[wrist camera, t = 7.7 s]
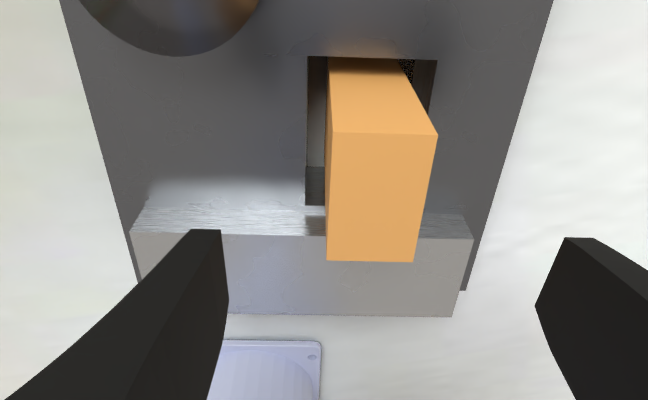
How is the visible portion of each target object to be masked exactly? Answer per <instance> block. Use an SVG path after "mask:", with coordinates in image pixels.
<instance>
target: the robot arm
mask: <svg viewBox="0 0 648 400" xmlns="http://www.w3.org/2000/svg"><path fill="white" fill-rule="evenodd" d="M228 305H229V293H228V285H227V276H226V268H225V260H224V251H223V243H222V235H221V229H190V230H189V231H188V232H187V233H186V234H185V235H184V236H183V237H182V238H181V239H180V240H179V241H178V242H177V243H176V245H175V246H174V247H173V248H172V249H171V250H170V251H169V252H168V253H167V254H166V255H165V256H164V257H163V258H162V259H161V260H160V262H159V263H158V264H157V265H156V266H155V267H154V268H153V269H152V270H151V271H150V272H149V273H148V274H147V275H146V276H145V277H144V278H143V279H142V280H141V281H140V282H139V283H138V284H137V285H136V286H135V287H134V288H133V289H132V290H131V291H130V292H129V293H128V294H127V295H126V296H125V297H124V298H123V299H122V300H121V301H120V302H119V303H118V304H117V305H116V306H115V307H114V308H113V309H112V310H111V311H109V312H108V313H107V314H106V315H105V316H104V317H103V318H102V319H101V320H100V321H98V322H97V323H96V324H95V325H94V326H93V327H92V328H91V329H90V330H89V331H88V332H86V333H85V334H84V335H83V336H82V337H81V338H80V339H79V340H78V341H76V342H75V343H74V344H73V345H72V346H71V347H70V348H68V349H67V350H66V351H65V352H64V353H62V354H61V355H60V356H59V357H58V358H57V359H55V360H54V361H53V362H52V363H51V364H49V365H48V366H47V367H46V368H44V369H43V370H42V371H41V372H39V373H38V374H37V375H36V376H34V377H33V378H32V379H31V380H29V381H28V382H27V383H26V384H24V385H23V386H22V387H21V388H19V389H18V390H17V391H15V392H14V393H13V394H12V395H10V396H9V397H8V398H6V399H5V400H319V383H320V363H321V345H320V344H319V343H318V342H315V341H269V340H223V336H224V331H225V325H226V318H227V312H228ZM535 308H536V311H537V314H538V317H539V320H540V323H541V326H542V329H543V332H544V334H545V337H546V340H547V342H548V345H549V347H550V350H551V352H552V354H553V356H554V358H555V360H556V362H557V364H558V366H559V368H560V370H561V372H562V374H563V376H564V378H565V380H566V382H567V384H568V386H569V387H570V389H571V391H572V393H573V395H574V397H575V399H576V400H648V270H646V269H644V268H643V267H641V266H640V265H638V264H637V263H635V262H633V261H632V260H630V259H629V258H627V257H625V256H624V255H622V254H620V253H619V252H617V251H615V250H614V249H612V248H610V247H609V246H607V245H605V244H603V243H602V242H600V241H598V240H596V239H594V238H571V237H565V238H564V240H563V242H562V245H561V247H560V249H559V251H558V254H557V256H556V258H555V260H554V263H553V265H552V267H551V270H550V272H549V274H548V276H547V279H546V281H545V283H544V285H543V288H542V290H541V292H540V295H539V297H538V299H537V301H536V304H535Z"/></svg>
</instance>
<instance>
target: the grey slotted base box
mask: <svg viewBox="0 0 648 400" xmlns="http://www.w3.org/2000/svg"><path fill="white" fill-rule="evenodd" d="M59 1H60V5H61V8H62V12H63V15H64V19H65V23H66V26H67V30H68V33H69V37H70V41H71V44H72V48H73V51H74V55H75V58H76V62H77V66H78V69H79V73H80V76H81V80H82V84H83V87H84V91H85V94H86V98H87V102H88V105H89V109H90V112H91V116H92V119H93V123H94V127H95V130H96V134H97V137H98V141H99V145H100V148H101V152H102V155H103V159H104V163H105V166H106V170H107V173H108V177H109V181H110V184H111V188H112V191H113V195H114V198H115V202H116V206H117V209H118V213H119V216H120V220H121V224H122V227H123V231H124V234H125V238H126V242H127V245H128V249H129V252H130V256H131V259H132V263H133V267H134V270H135V274H136V277H137V281H138V283H139V282H140V281H141V280H142V279H143V278H144V277H145V276H146V275H147V274H148V273H149V272H150V271H151V270H152V269H153V268H154V267H155V266H156V265H157V264H158V263H159V262H160V260H161V259H162V258H163V257H164V256H165V255H166V254H167V253H168V252H169V251H170V250H171V249H172V248H173V247H174V246H175V245H176V243H177V242H178V241H179V240H180V239H181V238H182V237H183V236H184V235H185V234H186V233H187V232H188V231H189V230H190V229H221V235H222V243H223V251H224V260H225V268H226V276H227V285H228V293H229V305H228V312H227V313H233V314H292V315H350V316H409V317H452V314H453V310H454V307H455V304H456V300H457V297H458V293H459V291H465V290H466V287H467V284H468V281H469V277H470V274H471V271H472V267H473V264H474V261H475V258H476V254H477V251H478V248H479V244H480V241H481V238H482V234H483V231H484V228H485V225H486V221H487V218H488V215H489V211H490V208H491V205H492V201H493V198H494V195H495V192H496V188H497V185H498V182H499V178H500V175H501V172H502V169H503V165H504V162H505V159H506V155H507V152H508V149H509V145H510V142H511V139H512V136H513V132H514V129H515V126H516V122H517V119H518V116H519V113H520V109H521V106H522V103H523V99H524V96H525V93H526V89H527V86H528V83H529V80H530V76H531V73H532V70H533V66H534V63H535V60H536V57H537V53H538V50H539V47H540V43H541V40H542V37H543V33H544V30H545V27H546V24H547V20H548V17H549V14H550V10H551V7H552V4H553V1H554V0H59ZM309 56H333V57H362V58H392V59H415V65H414V72H413V78H412V85H411V86H412V88H413V90H414V91H415V93H416V95H417V97H418V99H419V101H420V102H421V104H422V106H423V108H424V110H425V112H426V114H427V115H428V117H429V119H430V121H431V123H432V125H433V126H434V128H435V130H436V132H437V134H438V139H437V144H436V149H435V154H434V159H433V164H432V169H431V174H430V179H429V184H428V189H427V194H426V199H425V204H424V209H423V214H422V219H421V224H420V229H419V234H418V239H417V244H416V249H415V254H414V259H413V262H377V261H332V260H326V218H325V167H307V120H308V57H309Z"/></svg>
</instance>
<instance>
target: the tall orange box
mask: <svg viewBox="0 0 648 400" xmlns="http://www.w3.org/2000/svg"><path fill="white" fill-rule="evenodd" d="M437 139H438V134H437V132H436V130H435V128H434V126H433V125H432V123H431V121H430V119H429V117H428V115H427V114H426V112H425V110H424V108H423V106H422V104H421V102H420V101H419V99H418V97H417V95H416V93H415V91H414V90H413V88H412V86H411V84H410V82H409V80H408V78H407V77H406V75H405V73H404V71H403V69H402V67H401V66H400V64H399V62H398V60H397V59H392V58H362V57H333V56H328V69H327V93H326V118H325V143H324V165H325V218H326V260H332V261H377V262H413V259H414V254H415V249H416V244H417V239H418V234H419V229H420V224H421V219H422V214H423V209H424V204H425V199H426V194H427V189H428V184H429V179H430V174H431V169H432V164H433V159H434V154H435V149H436V144H437Z"/></svg>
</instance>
